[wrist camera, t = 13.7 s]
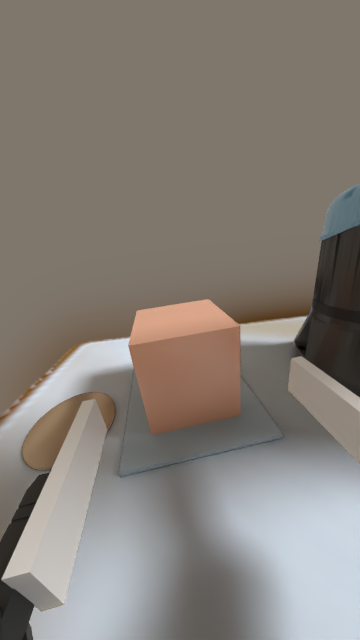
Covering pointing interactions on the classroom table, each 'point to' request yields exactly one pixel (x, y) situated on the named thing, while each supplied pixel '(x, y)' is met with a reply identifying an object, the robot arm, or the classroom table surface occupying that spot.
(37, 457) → the cork coaster
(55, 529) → the robot arm
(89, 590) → the classroom table surface
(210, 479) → the classroom table surface
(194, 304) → the pink block
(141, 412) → the felt mat
